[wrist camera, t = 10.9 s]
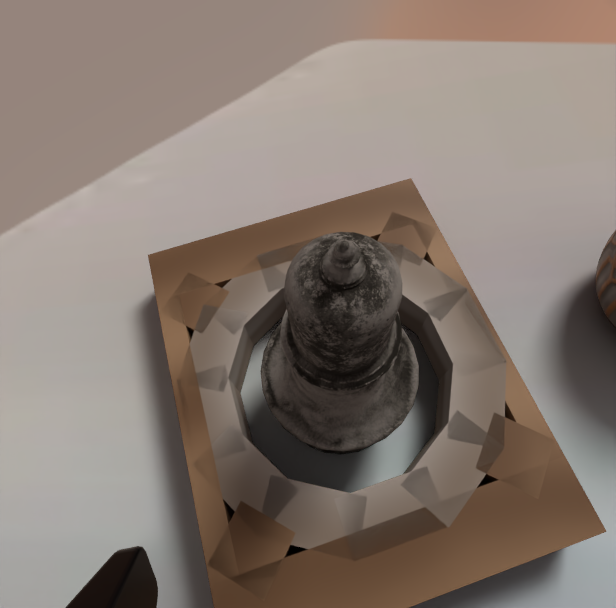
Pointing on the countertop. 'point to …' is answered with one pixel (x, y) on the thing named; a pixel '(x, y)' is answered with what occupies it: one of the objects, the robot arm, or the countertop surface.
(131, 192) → the countertop surface
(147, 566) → the robot arm
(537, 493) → the bore block
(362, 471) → the countertop surface
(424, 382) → the countertop surface
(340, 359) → the grey chess piece
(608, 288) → the vase
